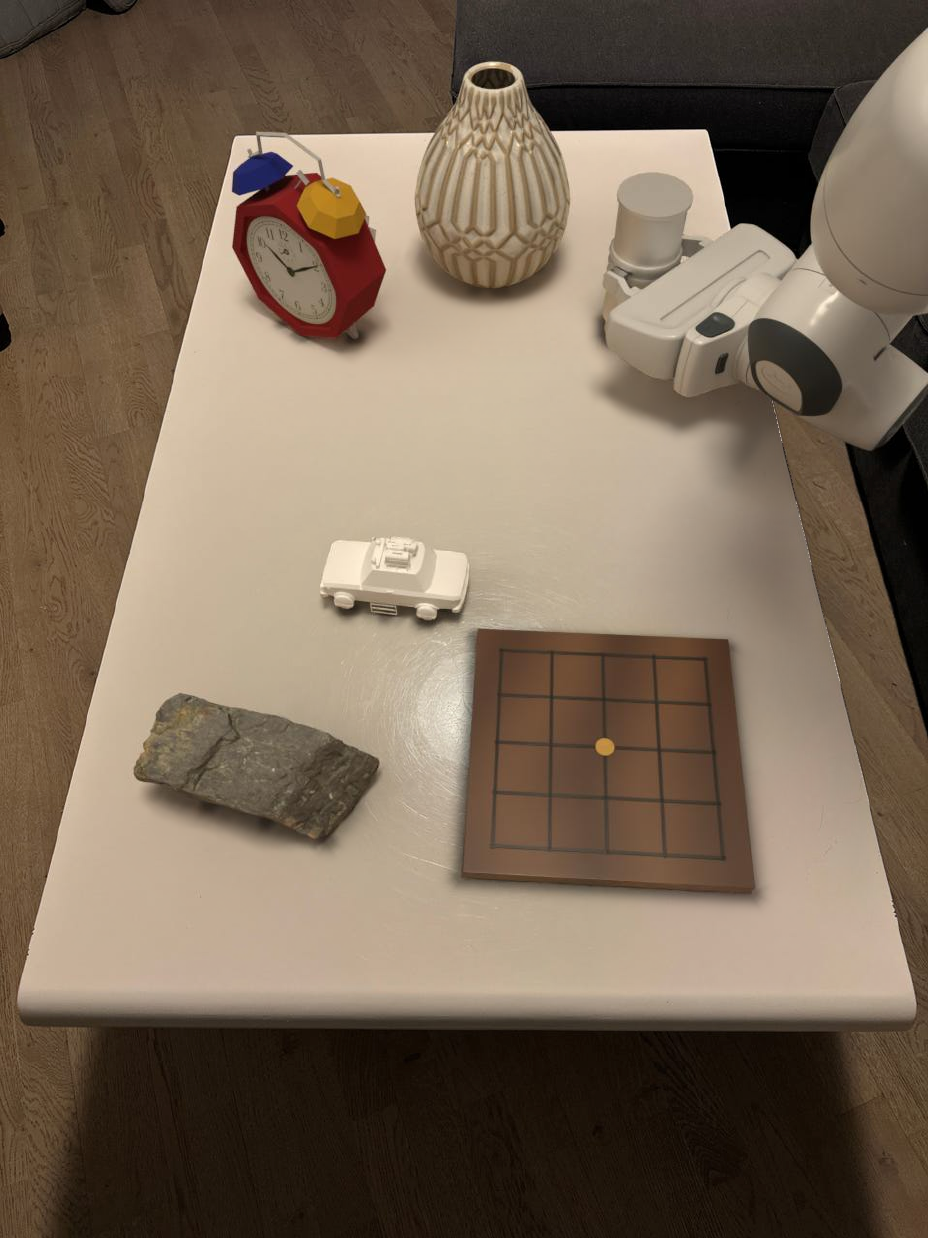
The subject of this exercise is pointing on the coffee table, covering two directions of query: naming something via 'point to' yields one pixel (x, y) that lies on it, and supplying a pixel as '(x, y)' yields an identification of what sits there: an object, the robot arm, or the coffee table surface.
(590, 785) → the grid board
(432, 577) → the toy car
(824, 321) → the robot arm
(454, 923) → the coffee table surface
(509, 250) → the vase
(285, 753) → the rock
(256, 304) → the coffee table surface
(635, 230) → the white travel cup
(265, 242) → the alarm clock
